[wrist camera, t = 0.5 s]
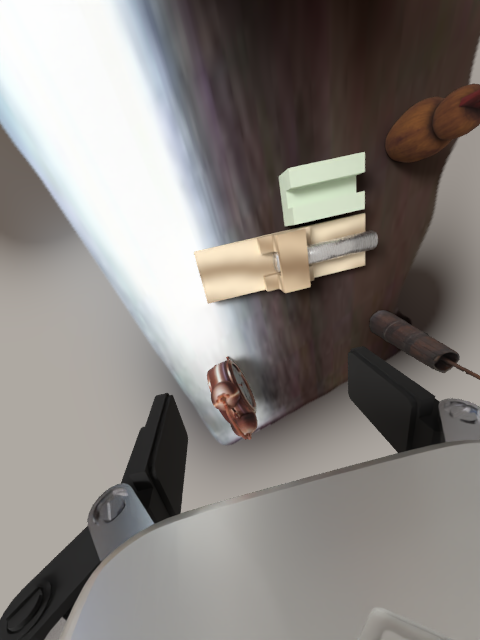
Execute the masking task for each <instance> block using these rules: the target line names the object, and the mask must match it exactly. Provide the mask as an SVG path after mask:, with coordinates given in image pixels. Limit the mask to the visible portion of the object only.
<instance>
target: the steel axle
mask: <svg viewBox="0 0 480 640" xmlns="http://www.w3.org/2000/svg"><path fill="white" fill-rule="evenodd" d="M377 243H378V236H377V234H376V232H375V231H373V230H370V231H366V232H361V233H357V234H353V235H349V236H344V237H340V238H336V239H332V240H327V241H323V242H319V243H315V244H310V245H307V251H308V262H309V265H310V264H314V263H318V262H322V261H327V260H331V259H335V258H339V257H343V256H348V255H352V254H356V253H360V252H364V251H368V250H373V249H374V248H375V247H376V246H377ZM273 264H274V268H275V270H276V272H281V270H280V263H279V256H278V252H276V253H273Z"/></svg>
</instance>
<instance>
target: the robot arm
mask: <svg viewBox="0 0 480 640" xmlns="http://www.w3.org/2000/svg"><path fill="white" fill-rule="evenodd" d="M348 393H349V397H350V399H351V400H352V401H353V402H354V403H355V405H356V406H357V407H358V408H359V409H360V410H361V411H362V412H363V414H364V415H365V416H366V417H367V418H368V419H369V420H370V422H371V423H372V424H373V425H374V426H375V427H376V428H377V430H378V431H379V432H380V433H381V434H382V435H383V436H384V437H385V439H386V440H387V441H388V442H389V443H390V444H391V445H392V446H393V448H394V449H395V450H396V451H397V452H398V453H397V454H393V455H389V456H386V457H382V458H378V459H375V460H371V461H367V462H363V463H360V464H355V465H352V466H348V467H344V468H340V469H337V470H333V471H330V472H326V473H322V474H318V475H314V476H311V477H307V478H303V479H300V480H296V481H292V482H289V483H285V484H281V485H278V486H274V487H270V488H267V489H263V490H260V491H256V492H252V493H249V494H245V495H242V496H238V497H235V498H231V499H228V500H224V501H220V502H217V503H214V504H210V505H207V506H203V507H200V508H197V509H193V510H191V511H187V512H184V513H181V514H180V512H181V503H182V493H183V484H184V473H185V464H186V455H187V444H188V436H187V432H186V430H185V427H184V425H183V421H182V419H181V416H180V413H179V411H178V408H177V405H176V402H175V400H174V397H173V395H169V394H168V393H165V394H161V395H157V396H156V397H155V399H154V402H153V405H152V408H151V411H150V414H149V417H148V420H147V423H146V426H145V427H142V428H141V430H140V432H139V435H138V437H137V440H136V443H135V446H134V448H133V451H132V454H131V457H130V460H129V462H128V465H127V468H126V471H125V473H124V476H123V479H122V482H121V484H117V485H115V486H113V487H111V488H109V489H108V490H106V491H105V492H104V493H103V494H102V495H101V496H100V497H99V498H98V499H97V500H96V502H95V503H94V504H93V506H92V508H91V510H90V512H89V515H88V519H87V522H88V526H87V527H86V528H85V529H84V530H83V531H82V532H81V533H80V534H79V535H78V536H77V537H76V538H75V539H74V540H73V541H72V542H71V543H70V544H69V545H68V546H67V547H65V549H64V550H62V551H61V553H59V554H58V555H57V556H56V557H55V558H54V559H53V560H52V561H51V562H50V563H49V564H48V565H47V566H46V567H45V568H44V569H43V570H42V571H41V572H40V573H39V574H38V575H37V576H36V577H35V578H34V579H33V580H32V581H31V582H30V583H28V584H27V585H26V586H25V588H23V589H22V590H21V592H20V593H19V594H18V595H17V596H16V597H15V598H14V599H13V601H12V602H11V603H10V605H9V606H8V608H7V609H6V611H5V612H4V614H3V616H2V617H1V619H0V640H480V407H479V406H477V405H476V404H473V403H471V402H468V401H464V400H460V399H453V398H452V399H444V400H442V401H440V402H439V401H438V400H436V399H435V396H434V395H433V394H431V393H430V392H428V391H427V390H425V389H424V388H423V387H421V386H420V385H418V384H417V383H415V382H414V381H412V380H411V379H410V378H408V377H407V376H405V375H404V374H402V373H401V372H400V371H398V370H396V369H395V368H394V367H392V366H391V365H390V364H388V363H387V362H385V361H384V360H382V359H381V358H379V357H378V356H377V355H375V354H374V353H372V352H371V351H369V350H368V349H367V348H365V347H363V346H362V347H357V348H353V349H351V351H350V352H349V353H348Z"/></svg>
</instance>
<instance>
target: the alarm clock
mask: <svg viewBox="0 0 480 640" xmlns="http://www.w3.org/2000/svg"><path fill="white" fill-rule="evenodd" d="M226 358H227V361H225V362H222V363H220V364H218V365H215V366H214V367H213V368H212V369H210V370H209V371H208V373H207V379H208V384H209V388H210V391H211V400H212V403H213V405H214V406H215V407H216V408H217V409H219V411H220V412H221V414H222V415H223V417H224V418H225V419H226V420H227V421H228V422H229V423H230V424H231V427H232V430H233V431H234V433H235V434H236V435H238V436H241V437H243V438H244V439H249V440H250V439H251V435H252V434H251V433H253V432H254V431H255V430H256V428H257V417H256V414H255V413H256V403H255V399H254V396H253V394H252V391H251V389H250V387H249V385H248V383H247V381H246V379H245V377H244V375H243V374H242V372H241V370H240V369H239V368H238V366H237V365H236V364H235V363H234V362H232V361H231V360H229V357H226Z"/></svg>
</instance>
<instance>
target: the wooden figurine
mask: <svg viewBox="0 0 480 640" xmlns="http://www.w3.org/2000/svg"><path fill="white" fill-rule="evenodd" d="M479 124H480V85H479V84H470V85H466V86H463V87H460V88H458V89H456V90H455V91H453V92H452V93H450V94H449V95H448V96H447V97H446V98H445V99H444V98H441V97H431V98H428V99H424V100H422V101H420V102H418V103H416V104H415V105H413V106H412V107H410V108H409V109H408V110H407V111H406V112H405V113H404V114H403V115H402V116H401V117H400V118H399V120H398V121H397V122H396V123H395V124H394V125H393V127H392V128H391V130H390V131H389V133H388V135H387V137H386V141H385V149H386V152H387V154H388V155H389V157H390V158H391V159H393V160H395V161H400V162H406V163H409V162H416V161H419V160H422V159H425V158H427V157H430V156H432V155H435V154H436V153H438V152H439V151H440V150H442V149H443V148H444V147H446V146H447V145H448V144H449V143H450V141H451V140H452V139H455V138H458V137H461V136H463V135H465V134H467V133H469V132H470V131H472V130H473V129H474V128H476V127H477V126H478V125H479Z"/></svg>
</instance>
